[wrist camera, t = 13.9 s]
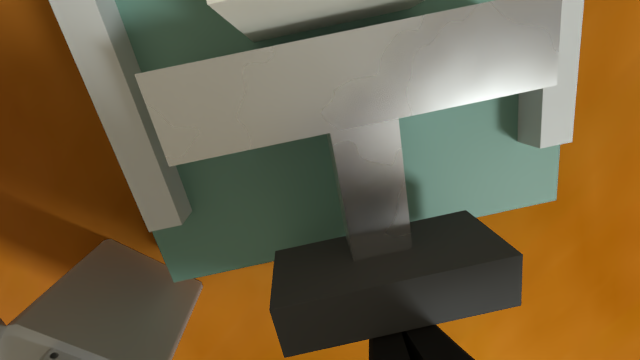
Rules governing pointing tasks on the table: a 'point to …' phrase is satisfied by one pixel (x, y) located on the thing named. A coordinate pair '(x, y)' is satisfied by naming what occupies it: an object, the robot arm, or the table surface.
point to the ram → (367, 159)
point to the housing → (299, 14)
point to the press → (304, 154)
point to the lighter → (104, 311)
